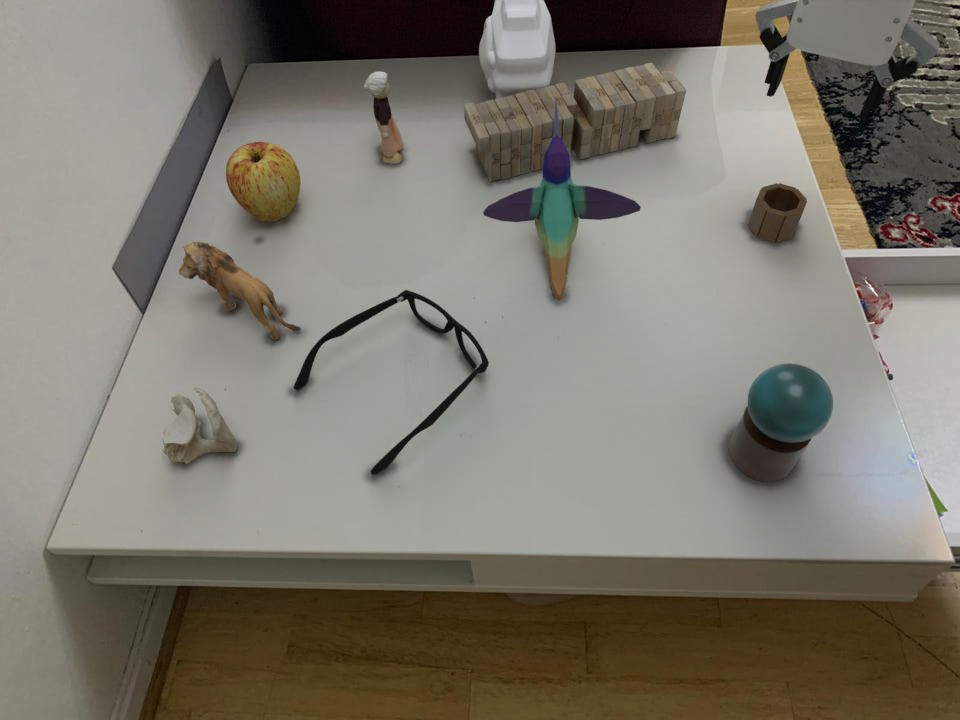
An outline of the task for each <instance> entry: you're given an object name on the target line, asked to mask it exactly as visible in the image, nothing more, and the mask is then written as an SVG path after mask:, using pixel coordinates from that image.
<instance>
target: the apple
mask: <svg viewBox="0 0 960 720" xmlns="http://www.w3.org/2000/svg"><path fill="white" fill-rule="evenodd" d="M225 180H226V184H227V187H228V190H229V193H231V195H232V196H233V198H234V200H235V201H236V202H237V204H238V205H239V206H240V207H241V208H242V210H244V211H245V212H246V213H247V214H249V215H250V216H251V217H253V218H254V219H256V220H258V221H260V222H275V221H279V220H282V219H283V218H285V217H286V216H288V215H290V213H291V212H292V211H294V209H295V206H296V205H297V201H298V199H299V195H300V192H301V191H300V190H301V174H300V170H299V168H298V164H297V162H296V161H295V160H294V157H293V156H292V155H291V154H290V153H289V151H287V150H286V149H285V148H283V147H281V146H280V145H278V144H276V143H273V142H266V141H255V142H249V143H246V144H243V145H241V146H239V147H238V148H237V149H236V150H235V151H233V153H232V154H231V155H230V156H229V158H228V160H227V163H226V165H225Z"/></svg>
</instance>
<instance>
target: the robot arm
mask: <svg viewBox="0 0 960 720" xmlns="http://www.w3.org/2000/svg"><path fill="white" fill-rule="evenodd" d="M915 3H916V0H778V1H773V2H769V3H767V4H763V5H760V7H759V8H758V10H757V11H756V13H755V20H756V25H757V29H758V31H759V40H760V41H761V43H762V44H763V46H764V48H765V49H766V51H767V52H768V59H769V60H770V62H769V66H768V69H767V73H766V76H765V80H764V84H766V85H769V86H768V89H767V92H766V97H770V98H772V97H774V96H775V94H776V92H777V90H778V89H779V87H780V85H781V82H782V80H783V76H784V74H785V70H786V67H787V64H788V61H789V57H790V55H791V53H792V52H794V51H796V50H799V51H802V52H806V53H810V54H814V55H818V56H822V57H827V58H830V59H836V60H839V61H845V62H849V63H854V64H858V65H863V66H871V67H872V70H873V71H874V74H875V76H874V77H875V78H874V80H873V81H872V84H871V86H870V89H869V91H868V93H867V96H866V98H865V100H864V103H863V105H862V108H861V110H860V112H859V115H858V118H859V120H862V121H866V119H867V116H868V115H869V112H870V110H873V111H878V109H879V107H880V104H881V103H882V100H883V99H884V96H885V93H886V91H887V89H888V88H890V87H891V86H893V84H894V83H896V82H899V81H901V80H903V79H905V78H907V77H910V76H912V75H914V74H916V72H917V71H918V69H920V68H921V67H923V66H924V65H927V64H928V63H929V62H930V61H931V60H933V58H934V57H936V56H937V55H938V52H939V49H940V47H941V45H940V42H939V41H938V40H936V39H935V38H934V37H933V36H932V35H931V34H929V32H927V31H926V30H925V29H924V28H922V27H921V26H920V25H919V24H917V23H916V22H915V21H914V20H913V19H912V18H910V16H911V14H912V11H913V8H914V6H915ZM788 16H792V17H791V20H790V23H789V26H788V29H787V32H786V33H784V34H783V35H782V34H781V32H780V31H779V29H778V28H777V26H776V25H775V23H774V20H777V19H781V18H785V17H788ZM901 39H902V40H903V41H904V42H905V43H907V44H908V45H909V46H911V47H912V49H914V50H915V52H914V53H913V54H911V55H908V56H906V57H904V58H902V59H900V60H897V59H896V55H895V54H894V53H895V50H896V48H897V46H898V44H899V42H900V40H901Z"/></svg>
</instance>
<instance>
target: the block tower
mask: <svg viewBox="0 0 960 720" xmlns="http://www.w3.org/2000/svg"><path fill="white" fill-rule="evenodd" d="M686 93H687V89H686V88H685V86H684V84H682V82H681V80H679V79H678V78H677V77H676V76H675V74H674V73H673V71H672V70H670V69H667V70H664V71H663V70H662V71H661V72H660V71H659V70H658V68H657V67H656V66H655V64H654V63H653V62H648V63H643V64H641V65H636V66H629V67H625V68H623V69H617V70H615V71H609V72H605V73H604V74H603V73H602V74H598V75H594V76H587V77H584V78H580V79H576V80H575V82H574V88H573V94H572V93H571V92H570V89H569V88H568V86H567V85H566V83H565V82H560V83H555V84H554V85H550V86H548V87H545V88H539V89H536V90H528V91H525V92H522V93H517V94H515V95H512V96H506V97H505V98H498V99H496V98H494V99H490V100H485V101H484V102H479V103H474V102H472V101H471V102H466V103H464V104H463V116H464V118H463V119H464V122H465V124H466V126H467V129H468V131H469V132H470V135H471V137H472V140H473V141H474V144H475V152H476V154H477V156H478V158H479V160H480V162H481V164H482V166H483V168H484V170H485V173H486V175H487V178H488V179H489V181H490V182H493V181H497V180H505V179H509V178H512V177H516V176H519V175H523V174H524V175H525V174H529V173H530V172H535V171H536V172H537V171H540V170H543V164H544V156H545V153H546V151H547V149H548V147H549V145H550V143H551V141H552V139H553V137H554V117H555V98H556V102H557V111H558V124H559V136H560V138H561V139H562V141H563V143H564V145H565V147H566V149H567V151H568V153H569V157H570V158H571V151H572V150H574V152H575V154H576V156H577V158H578V159H579V160H583V159H587V158H590V157H595V156H598V155H604V154H608V153H611V152H617V151H621V150H626V149H628V148H632V147H636V146H637V145H638V142H639V137H640V136H641V137H642V139H643V140H644V141H645V142H646V144H649V143H654V142H655V143H656V141H660V140H664V139H671V138H675V137H676V135H677V130H678V127H679V122H680V118H681V114H682V110H683V106H684V101H685V98H686Z"/></svg>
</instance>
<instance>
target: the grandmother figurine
mask: <svg viewBox="0 0 960 720" xmlns="http://www.w3.org/2000/svg"><path fill="white" fill-rule="evenodd" d="M388 77H389V76H388V74H387V73H386V72H385V71H374V72H372V73H370V74H369V76H368V77H367V78H366V80H365V82H364V85H363V88H364V90H366V91H369V93H370V94H371V95H372V96H373V104H372V105H373V106H372V108H373V115H374V119H375V122H376V126H377V129H378V131H379V133H380V138H381V147H380V153H382V154H383V158H382V162H383V163H384V164H392V165H397V164H400V163H402V161H403V156H402V155H401V153H399V151H400V150H402V149H403V147H404V142H403V138H402V134H401V132H400V129H399V127H398V125H397V122H396V119H395V117H394V115H393V114H392V111H391V109H392V108H391V106H390V103H389V97H388V96H389V95H390V92H391V91H390V90H391V88H390V84H389V83H388Z"/></svg>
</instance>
